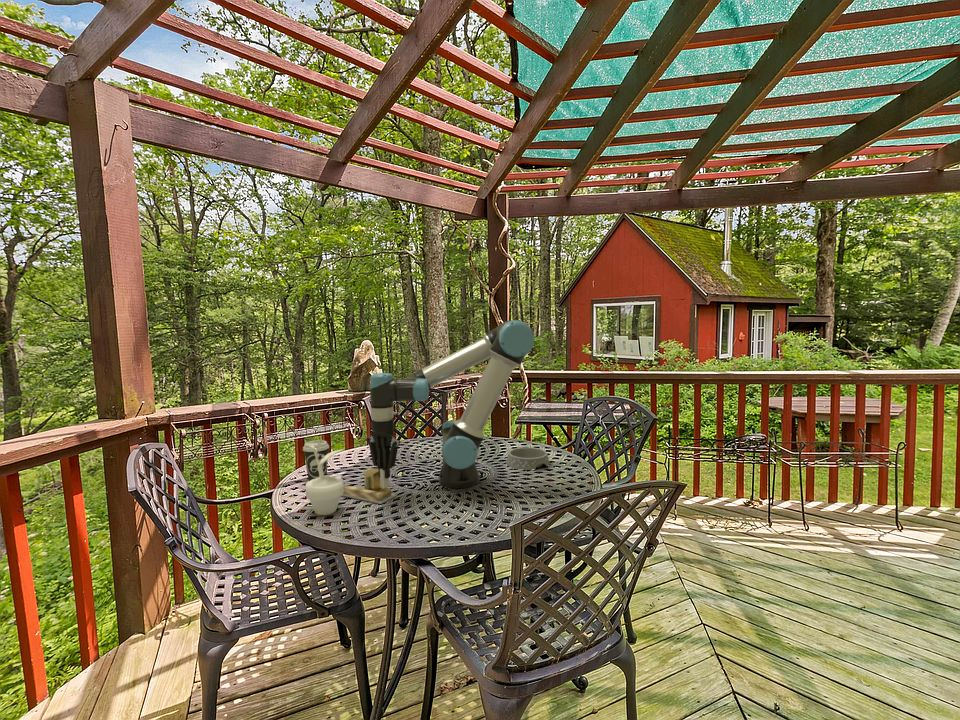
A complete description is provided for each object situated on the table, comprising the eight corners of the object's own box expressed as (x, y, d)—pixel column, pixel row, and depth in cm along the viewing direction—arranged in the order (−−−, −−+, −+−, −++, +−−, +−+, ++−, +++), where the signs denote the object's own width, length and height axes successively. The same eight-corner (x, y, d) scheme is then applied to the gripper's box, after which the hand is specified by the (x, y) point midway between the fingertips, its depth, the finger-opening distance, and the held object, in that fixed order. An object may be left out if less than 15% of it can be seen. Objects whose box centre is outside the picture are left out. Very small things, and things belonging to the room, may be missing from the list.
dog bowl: (558, 465, 198) (558, 453, 198) (523, 474, 188) (523, 461, 188) (531, 456, 212) (531, 444, 212) (497, 464, 202) (497, 451, 202)
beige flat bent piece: (393, 493, 167) (393, 486, 167) (378, 501, 160) (378, 494, 160) (356, 486, 175) (356, 479, 175) (340, 493, 168) (340, 486, 168)
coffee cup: (336, 479, 186) (334, 441, 184) (318, 487, 177) (316, 447, 176) (317, 476, 190) (315, 438, 188) (298, 483, 181) (296, 444, 180)
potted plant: (308, 522, 147) (304, 441, 145) (305, 508, 158) (301, 433, 155) (350, 514, 152) (347, 437, 150) (345, 501, 163) (342, 429, 160)
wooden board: (395, 496, 167) (395, 493, 167) (380, 504, 160) (380, 501, 160) (358, 488, 175) (358, 485, 175) (342, 495, 168) (342, 492, 168)
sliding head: (383, 490, 169) (382, 469, 168) (372, 496, 164) (371, 474, 163) (374, 488, 171) (373, 468, 170) (363, 494, 166) (362, 473, 165)
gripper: (404, 418, 163) (406, 486, 165) (374, 415, 169) (377, 480, 171) (390, 423, 156) (393, 493, 159) (360, 419, 163) (362, 487, 165)
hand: (384, 486), depth 165 cm, fingers closed
